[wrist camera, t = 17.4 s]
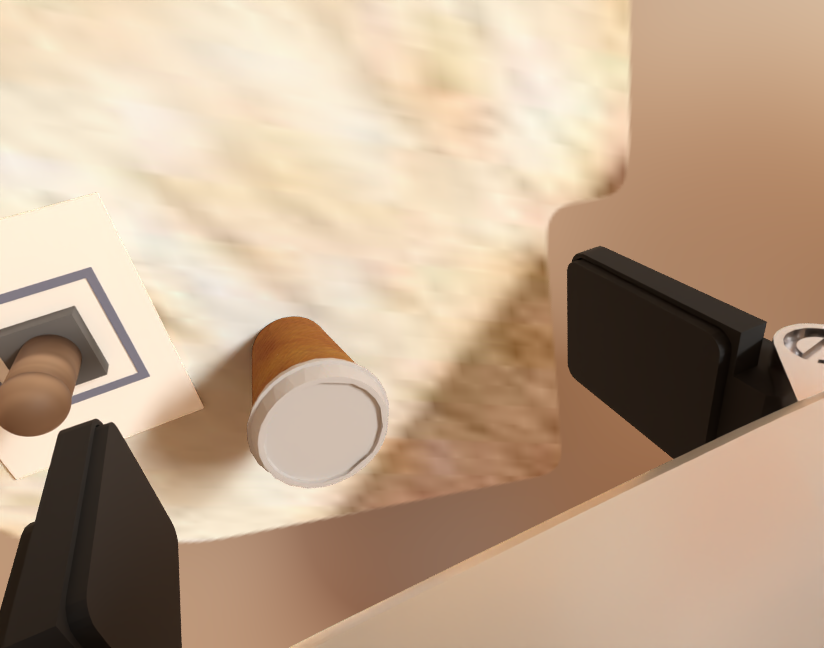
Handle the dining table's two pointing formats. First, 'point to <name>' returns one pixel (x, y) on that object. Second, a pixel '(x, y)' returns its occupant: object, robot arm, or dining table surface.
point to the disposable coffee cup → (312, 406)
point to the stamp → (45, 370)
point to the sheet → (89, 322)
